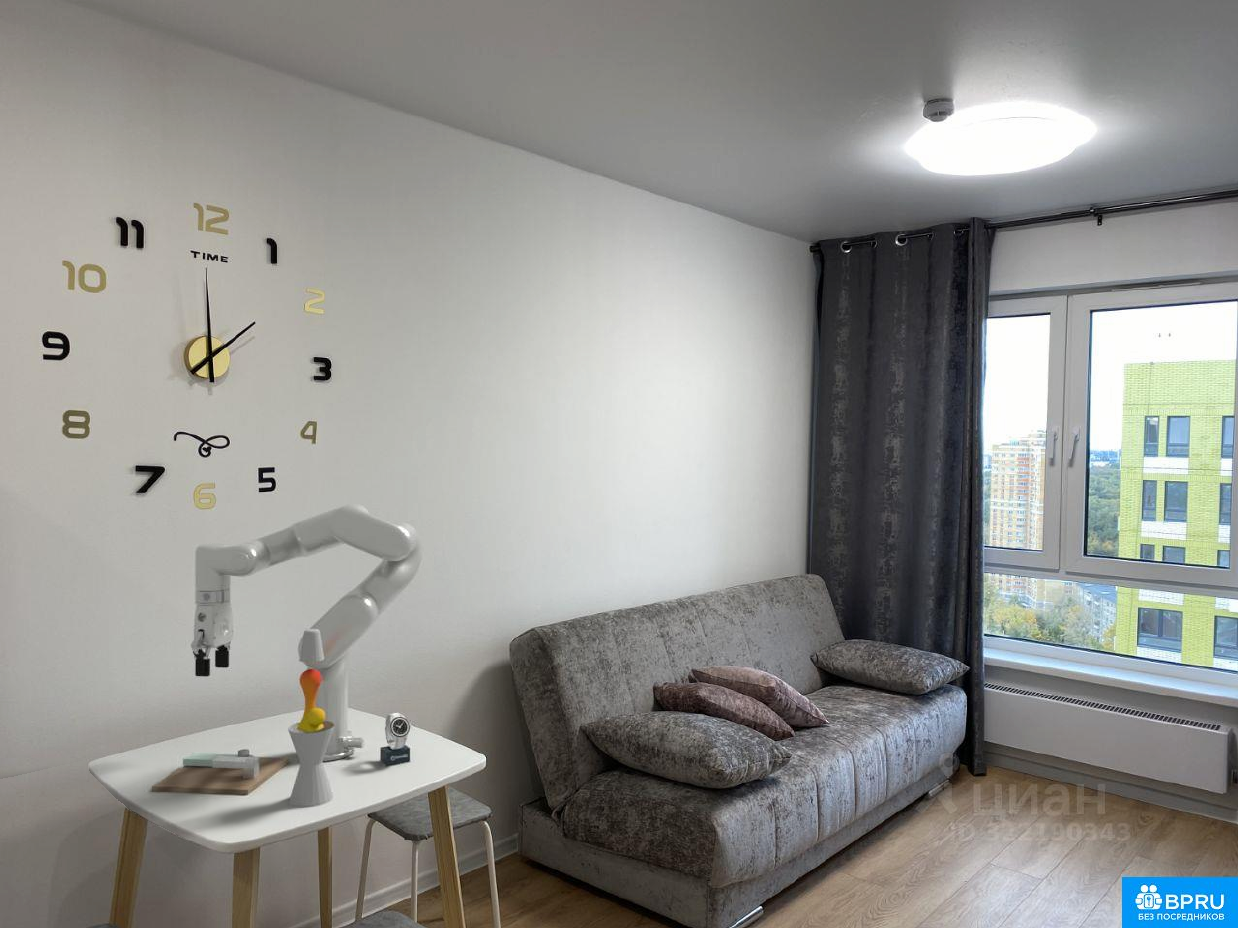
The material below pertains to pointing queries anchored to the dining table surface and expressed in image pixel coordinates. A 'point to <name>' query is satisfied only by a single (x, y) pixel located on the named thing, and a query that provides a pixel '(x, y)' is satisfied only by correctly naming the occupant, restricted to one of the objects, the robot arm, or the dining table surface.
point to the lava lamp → (311, 732)
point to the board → (220, 777)
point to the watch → (396, 740)
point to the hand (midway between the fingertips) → (212, 671)
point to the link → (204, 759)
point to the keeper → (239, 765)
